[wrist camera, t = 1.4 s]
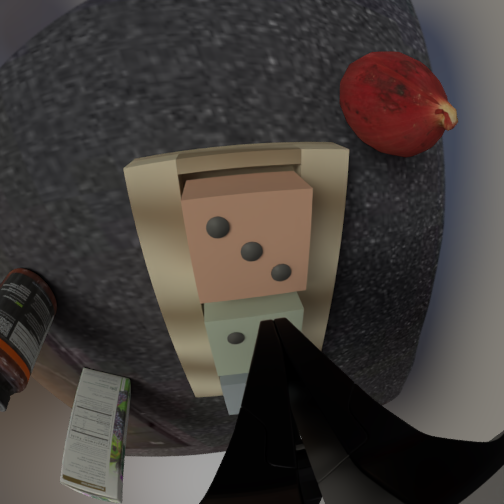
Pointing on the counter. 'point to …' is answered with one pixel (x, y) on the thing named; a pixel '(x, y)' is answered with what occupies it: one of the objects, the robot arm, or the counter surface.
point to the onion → (395, 103)
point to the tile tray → (177, 250)
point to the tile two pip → (245, 327)
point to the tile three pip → (248, 234)
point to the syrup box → (97, 436)
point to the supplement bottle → (22, 328)
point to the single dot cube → (233, 391)
